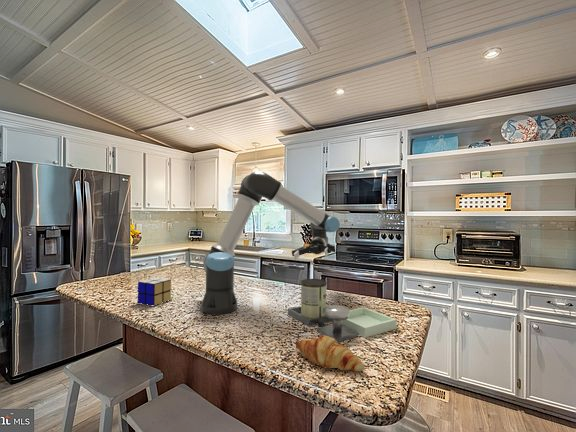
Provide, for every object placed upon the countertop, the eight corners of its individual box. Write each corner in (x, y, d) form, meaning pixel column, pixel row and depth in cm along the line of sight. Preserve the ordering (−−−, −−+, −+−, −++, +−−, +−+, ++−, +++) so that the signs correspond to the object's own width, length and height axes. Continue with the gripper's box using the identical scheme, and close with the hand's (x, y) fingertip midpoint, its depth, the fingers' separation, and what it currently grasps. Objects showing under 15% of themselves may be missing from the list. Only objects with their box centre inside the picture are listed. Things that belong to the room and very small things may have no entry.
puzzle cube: (137, 303, 128) (137, 281, 128) (155, 298, 137) (155, 277, 137) (153, 306, 124) (154, 283, 124) (171, 300, 134) (171, 279, 134)
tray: (364, 337, 95) (365, 327, 95) (333, 322, 109) (333, 313, 109) (396, 328, 104) (396, 319, 104) (363, 315, 117) (363, 307, 117)
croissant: (367, 381, 76) (372, 350, 79) (356, 379, 69) (362, 345, 72) (299, 357, 88) (306, 330, 91) (283, 353, 80) (291, 324, 84)
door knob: (335, 342, 92) (335, 315, 92) (308, 326, 104) (308, 303, 104) (358, 336, 97) (358, 310, 97) (329, 321, 110) (330, 299, 110)
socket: (308, 325, 105) (308, 320, 105) (287, 313, 118) (287, 308, 118) (339, 318, 113) (340, 313, 113) (316, 308, 126) (317, 303, 126)
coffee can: (301, 311, 121) (301, 278, 121) (325, 312, 120) (326, 279, 120) (299, 320, 111) (300, 283, 111) (326, 321, 110) (327, 284, 110)
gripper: (343, 249, 141) (340, 260, 121) (295, 255, 148) (284, 266, 127) (341, 235, 141) (337, 243, 120) (292, 240, 147) (281, 249, 127)
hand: (310, 255), depth 124 cm, fingers open, 13 cm apart
